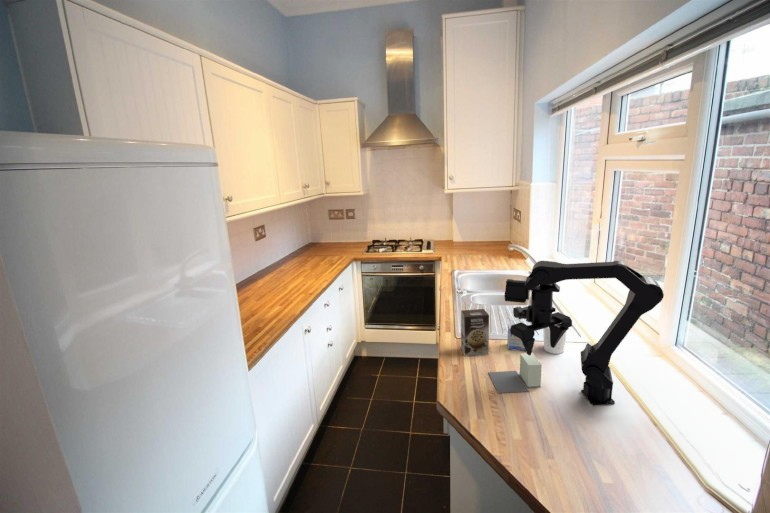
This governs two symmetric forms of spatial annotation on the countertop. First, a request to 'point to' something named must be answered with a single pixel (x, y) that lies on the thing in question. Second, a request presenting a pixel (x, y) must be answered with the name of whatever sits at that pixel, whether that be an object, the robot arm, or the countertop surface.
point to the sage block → (530, 370)
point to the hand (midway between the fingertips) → (540, 351)
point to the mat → (507, 382)
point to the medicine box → (514, 341)
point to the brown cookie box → (474, 332)
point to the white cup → (559, 346)
